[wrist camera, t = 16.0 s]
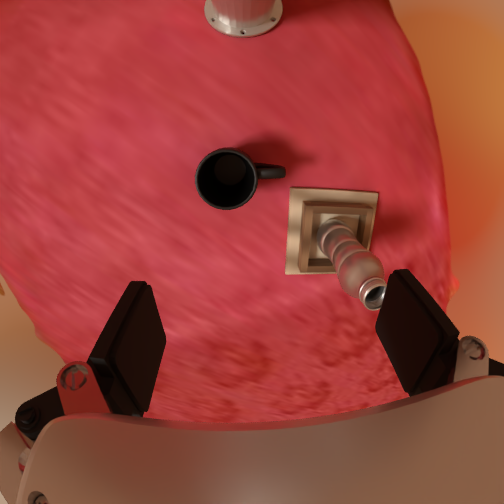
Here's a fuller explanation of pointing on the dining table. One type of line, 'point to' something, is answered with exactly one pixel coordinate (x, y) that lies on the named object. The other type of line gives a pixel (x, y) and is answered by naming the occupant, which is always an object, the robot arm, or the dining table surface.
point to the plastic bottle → (353, 263)
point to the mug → (231, 177)
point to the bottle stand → (315, 214)
